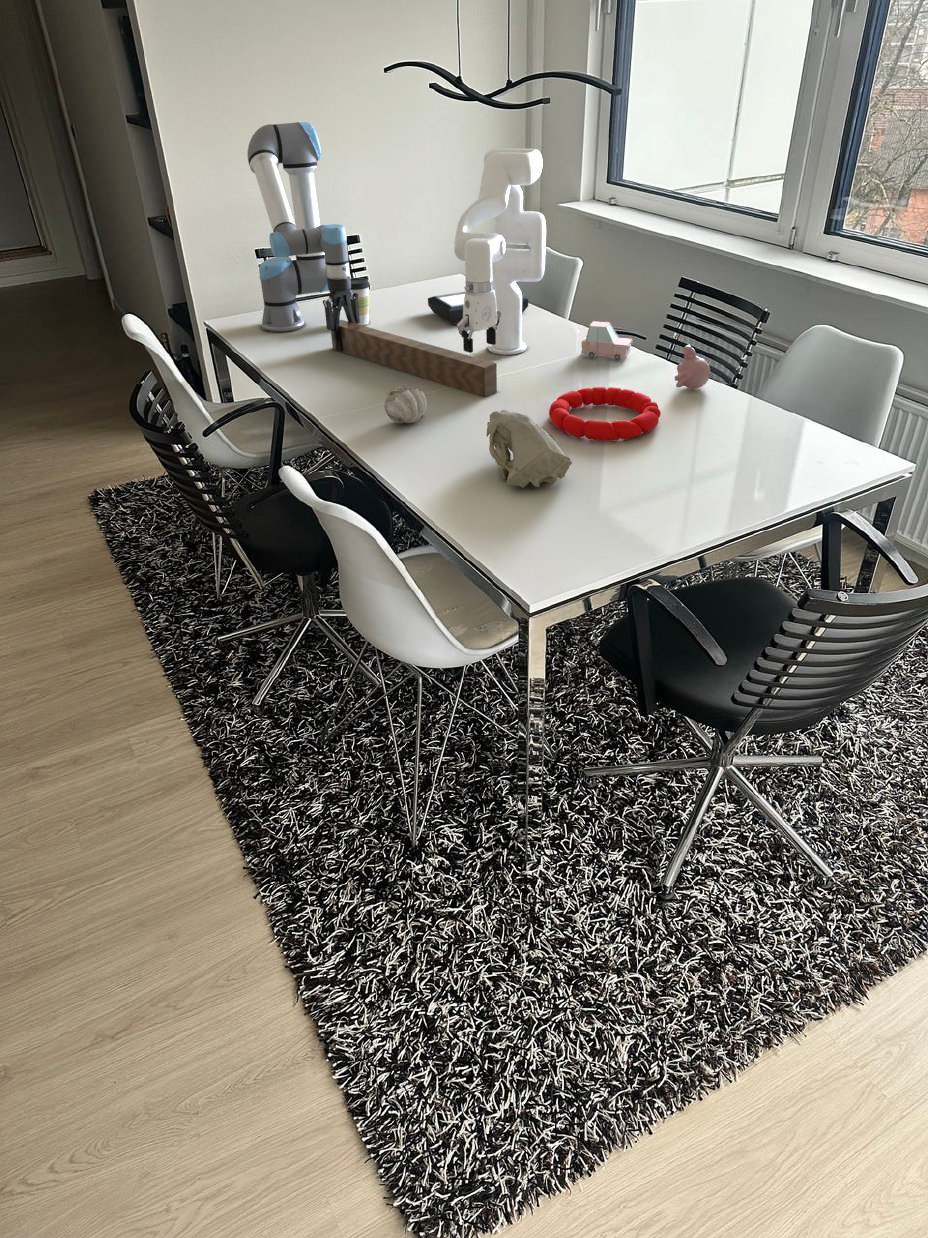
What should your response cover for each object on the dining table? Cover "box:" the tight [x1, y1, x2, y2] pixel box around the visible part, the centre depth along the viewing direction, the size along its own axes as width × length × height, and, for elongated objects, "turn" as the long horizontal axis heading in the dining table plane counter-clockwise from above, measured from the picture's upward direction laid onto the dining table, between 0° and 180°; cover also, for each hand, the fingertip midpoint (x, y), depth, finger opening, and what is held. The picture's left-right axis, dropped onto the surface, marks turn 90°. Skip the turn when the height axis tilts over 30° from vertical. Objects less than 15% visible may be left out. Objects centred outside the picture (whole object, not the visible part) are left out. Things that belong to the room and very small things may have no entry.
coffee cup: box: [350, 277, 371, 326], centre depth 323 cm, size 10×10×15 cm
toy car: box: [580, 320, 633, 361], centre depth 286 cm, size 9×15×10 cm, turn 70°
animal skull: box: [485, 409, 573, 489], centre depth 216 cm, size 17×25×20 cm
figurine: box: [674, 344, 711, 390], centre depth 259 cm, size 9×11×12 cm
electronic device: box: [427, 288, 529, 325], centre depth 331 cm, size 32×6×20 cm
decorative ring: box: [548, 386, 661, 442], centre depth 242 cm, size 7×30×30 cm
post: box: [330, 319, 498, 398], centre depth 282 cm, size 71×5×9 cm, turn 46°
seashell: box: [383, 386, 427, 424], centre depth 244 cm, size 10×15×10 cm
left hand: (346, 347), depth 302 cm, fingers closed on post, 5 cm apart
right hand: (479, 347), depth 258 cm, fingers open, 9 cm apart
